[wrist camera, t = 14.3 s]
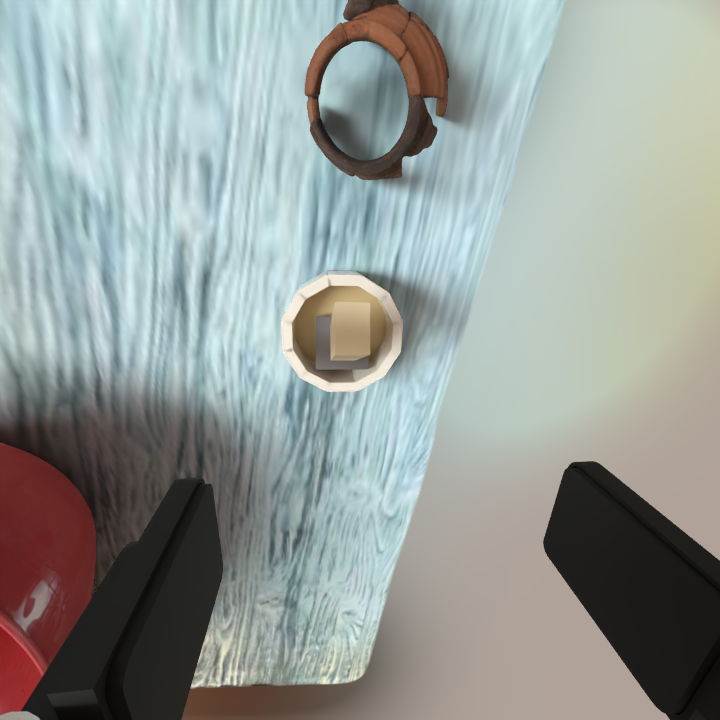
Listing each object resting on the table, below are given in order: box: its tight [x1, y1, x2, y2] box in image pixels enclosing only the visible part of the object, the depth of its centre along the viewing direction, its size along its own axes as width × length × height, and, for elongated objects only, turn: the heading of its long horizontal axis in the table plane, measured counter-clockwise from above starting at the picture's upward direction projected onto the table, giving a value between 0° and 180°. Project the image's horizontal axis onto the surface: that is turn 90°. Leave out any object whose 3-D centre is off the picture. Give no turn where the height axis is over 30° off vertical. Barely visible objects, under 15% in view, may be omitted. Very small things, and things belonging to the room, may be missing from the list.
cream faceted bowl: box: [281, 271, 403, 392], centre depth 28 cm, size 10×10×4 cm
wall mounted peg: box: [316, 302, 370, 370], centre depth 24 cm, size 4×4×10 cm
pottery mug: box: [305, 0, 449, 180], centre depth 22 cm, size 12×9×8 cm
